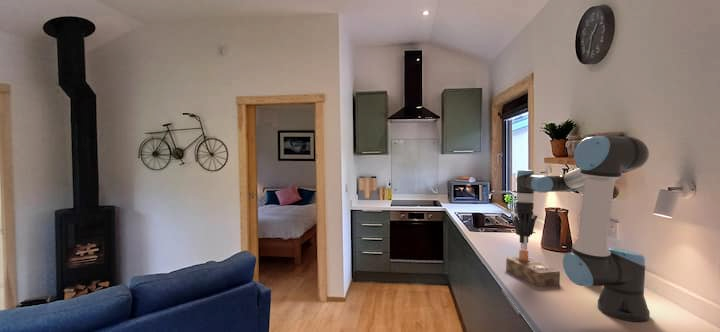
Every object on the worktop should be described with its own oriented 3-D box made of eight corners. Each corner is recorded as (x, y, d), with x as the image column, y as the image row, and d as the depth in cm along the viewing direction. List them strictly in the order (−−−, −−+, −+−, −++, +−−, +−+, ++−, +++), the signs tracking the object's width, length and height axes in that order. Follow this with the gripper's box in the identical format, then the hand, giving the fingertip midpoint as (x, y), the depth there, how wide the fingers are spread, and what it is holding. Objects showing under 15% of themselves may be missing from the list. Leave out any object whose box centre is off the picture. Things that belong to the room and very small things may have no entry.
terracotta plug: (529, 263, 163) (530, 251, 162) (522, 264, 162) (523, 251, 162) (524, 261, 167) (524, 249, 166) (517, 261, 166) (517, 249, 165)
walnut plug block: (559, 284, 149) (559, 271, 149) (538, 286, 147) (538, 273, 147) (525, 268, 171) (525, 256, 171) (506, 269, 169) (506, 257, 168)
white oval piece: (546, 281, 152) (547, 268, 152) (539, 281, 151) (539, 268, 151) (540, 278, 156) (540, 265, 156) (533, 278, 155) (533, 265, 155)
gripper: (530, 200, 168) (529, 246, 169) (508, 200, 165) (507, 247, 166) (542, 202, 161) (540, 250, 162) (518, 202, 158) (517, 252, 159)
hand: (523, 249), depth 164 cm, fingers closed
